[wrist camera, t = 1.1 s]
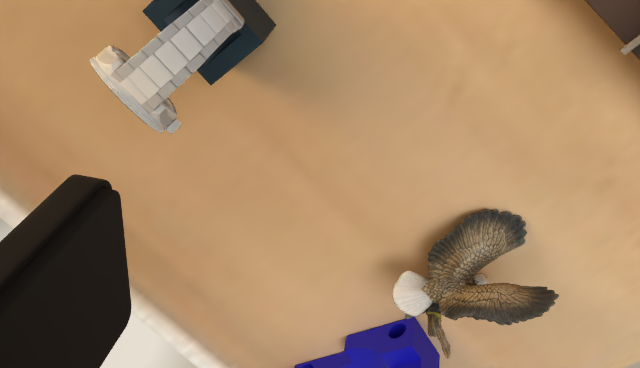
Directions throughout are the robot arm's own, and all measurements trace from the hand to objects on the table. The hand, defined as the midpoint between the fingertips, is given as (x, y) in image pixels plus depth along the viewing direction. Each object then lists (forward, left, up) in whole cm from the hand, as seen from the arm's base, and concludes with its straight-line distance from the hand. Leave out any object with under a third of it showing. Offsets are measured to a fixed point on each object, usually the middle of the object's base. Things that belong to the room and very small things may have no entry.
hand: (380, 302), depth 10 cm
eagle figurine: (+21, +1, -28) cm, 35 cm away
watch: (+2, -13, -28) cm, 30 cm away
